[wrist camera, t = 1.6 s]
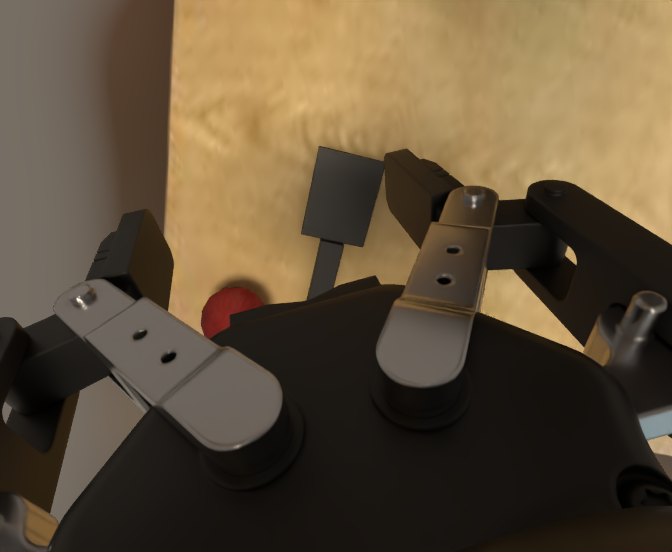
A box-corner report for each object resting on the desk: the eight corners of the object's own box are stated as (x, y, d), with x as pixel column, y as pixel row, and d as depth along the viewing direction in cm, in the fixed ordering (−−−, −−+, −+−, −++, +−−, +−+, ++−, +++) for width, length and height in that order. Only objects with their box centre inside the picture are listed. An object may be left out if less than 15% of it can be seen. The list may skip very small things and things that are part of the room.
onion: (267, 330, 40) (254, 378, 33) (211, 321, 40) (185, 368, 32) (274, 280, 38) (263, 318, 31) (215, 270, 38) (189, 307, 30)
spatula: (319, 145, 34) (319, 146, 32) (385, 161, 34) (387, 163, 33) (274, 363, 42) (273, 370, 41) (328, 372, 43) (328, 379, 41)
